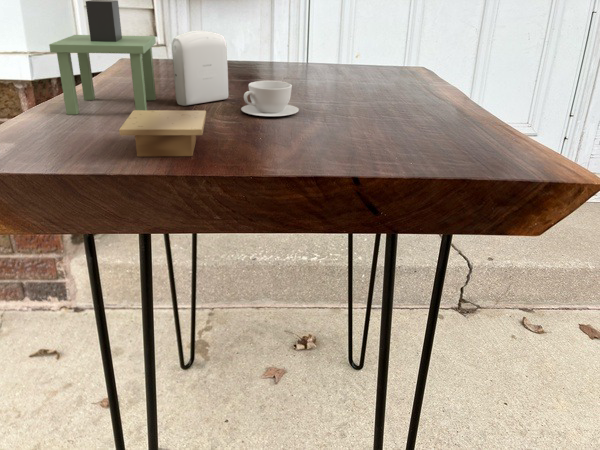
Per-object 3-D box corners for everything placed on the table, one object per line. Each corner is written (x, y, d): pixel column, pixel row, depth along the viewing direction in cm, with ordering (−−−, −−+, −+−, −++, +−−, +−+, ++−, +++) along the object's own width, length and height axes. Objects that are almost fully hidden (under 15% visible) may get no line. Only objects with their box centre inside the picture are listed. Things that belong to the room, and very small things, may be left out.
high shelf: (60, 115, 85) (48, 44, 80) (83, 97, 98) (74, 34, 93) (149, 115, 87) (143, 45, 82) (160, 97, 99) (155, 36, 95)
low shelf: (122, 160, 66) (118, 129, 64) (136, 138, 75) (133, 110, 73) (203, 160, 67) (202, 129, 65) (207, 138, 76) (206, 110, 74)
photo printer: (184, 107, 93) (179, 33, 88) (172, 103, 96) (166, 30, 90) (232, 100, 99) (230, 30, 94) (219, 96, 102) (216, 28, 97)
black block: (90, 41, 85) (85, 1, 82) (97, 38, 90) (93, -1, 87) (116, 41, 85) (111, 1, 83) (122, 38, 90) (118, 0, 87)
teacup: (278, 103, 98) (278, 77, 96) (310, 114, 91) (311, 87, 89) (230, 109, 93) (229, 82, 91) (260, 121, 85) (260, 92, 83)
